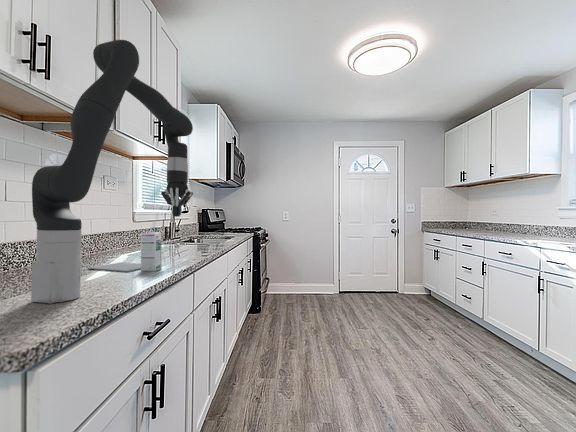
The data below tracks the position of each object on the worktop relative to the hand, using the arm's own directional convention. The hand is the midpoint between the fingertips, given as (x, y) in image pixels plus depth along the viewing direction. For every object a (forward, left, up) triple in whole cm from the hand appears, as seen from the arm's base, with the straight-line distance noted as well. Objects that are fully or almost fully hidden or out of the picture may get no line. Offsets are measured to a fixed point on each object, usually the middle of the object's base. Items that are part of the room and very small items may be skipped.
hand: (176, 216), depth 126 cm
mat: (0, +24, -21) cm, 32 cm away
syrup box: (0, +11, -21) cm, 24 cm away
